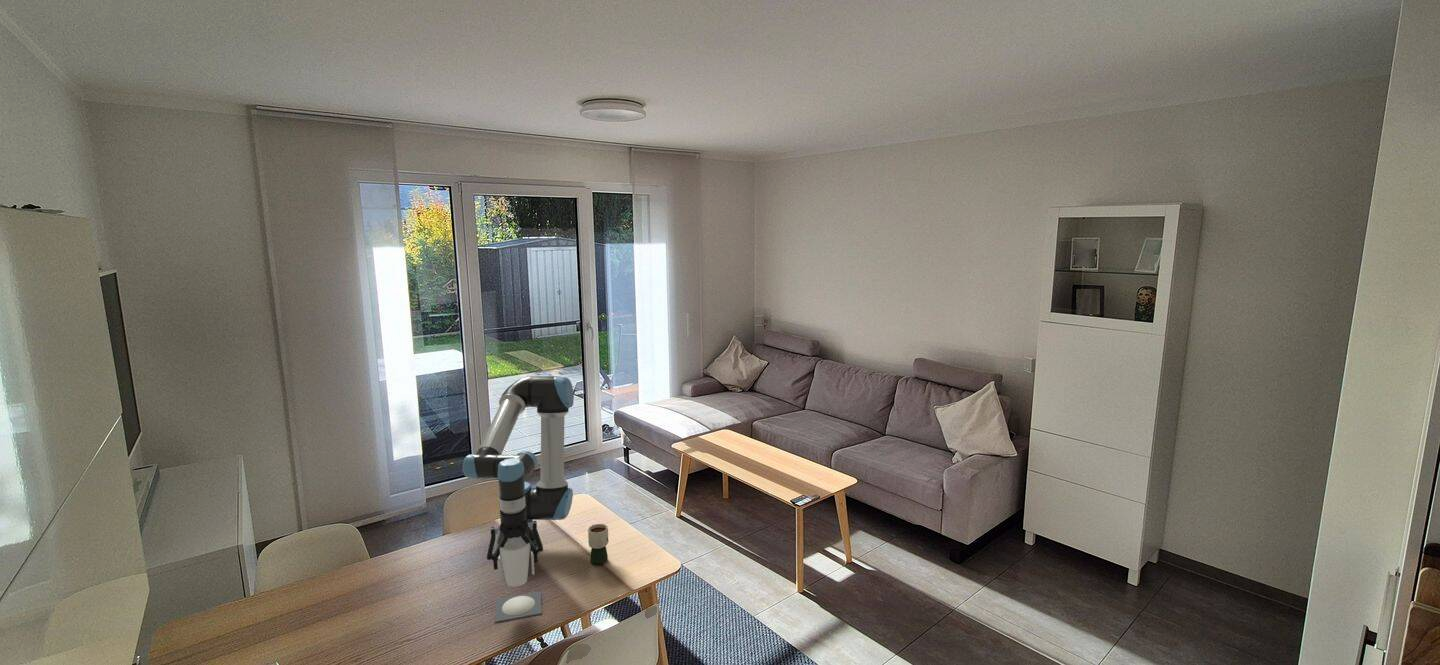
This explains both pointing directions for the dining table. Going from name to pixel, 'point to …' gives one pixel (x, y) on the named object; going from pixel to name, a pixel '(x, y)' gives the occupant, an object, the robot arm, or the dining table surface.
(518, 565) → the foam cup
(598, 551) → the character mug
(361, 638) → the dining table surface
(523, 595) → the mat
